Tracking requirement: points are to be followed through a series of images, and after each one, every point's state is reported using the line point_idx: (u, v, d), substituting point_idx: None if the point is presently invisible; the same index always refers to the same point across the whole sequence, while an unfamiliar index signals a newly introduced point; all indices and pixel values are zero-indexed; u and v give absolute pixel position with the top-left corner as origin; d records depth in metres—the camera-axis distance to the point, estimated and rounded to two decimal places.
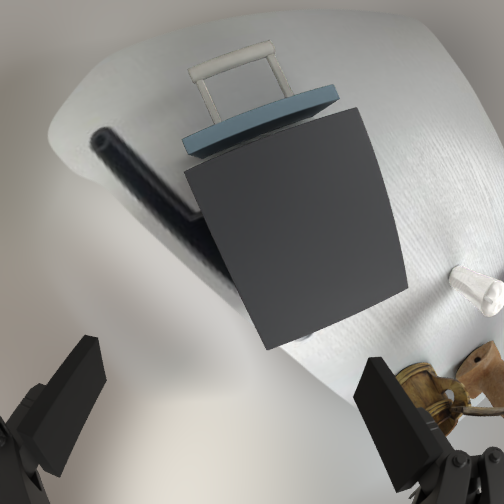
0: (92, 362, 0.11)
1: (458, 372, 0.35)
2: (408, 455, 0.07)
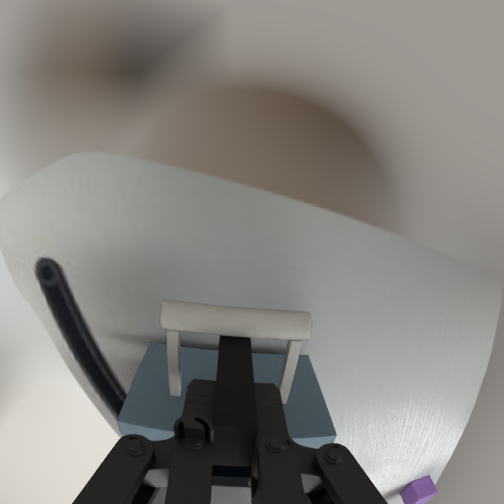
0: None
1: None
2: None
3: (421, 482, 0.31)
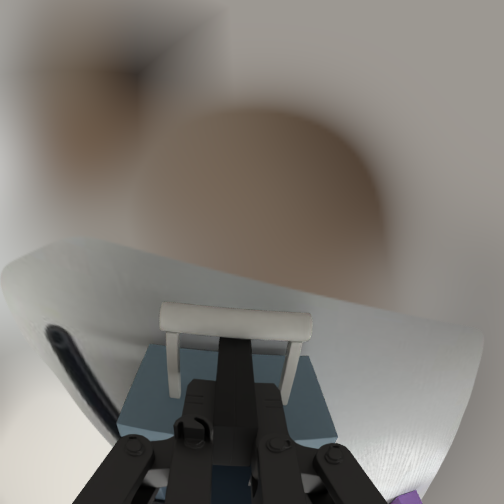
0: None
1: None
2: None
3: (407, 496, 0.32)
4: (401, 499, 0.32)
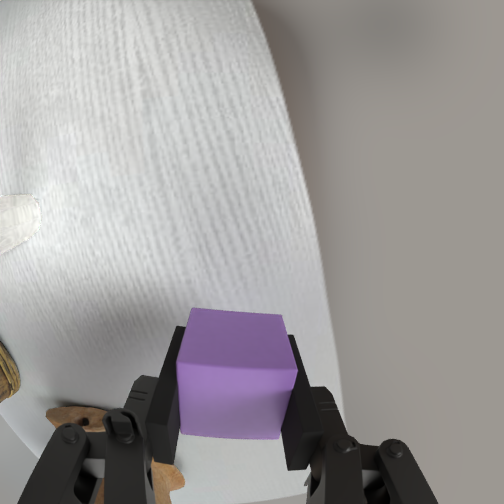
0: None
1: (51, 410, 0.19)
2: (293, 430, 0.09)
3: (233, 319, 0.13)
4: (198, 318, 0.13)
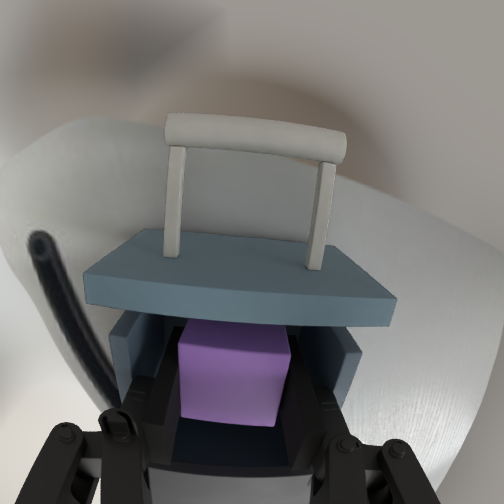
0: None
1: None
2: (296, 431, 0.09)
3: None
4: None
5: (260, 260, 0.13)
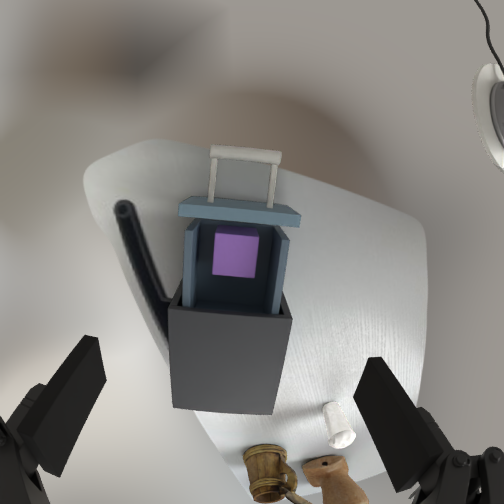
0: (92, 362, 0.11)
1: (305, 465, 0.48)
2: (408, 455, 0.07)
3: (235, 227, 0.33)
4: (221, 226, 0.32)
5: (247, 205, 0.30)
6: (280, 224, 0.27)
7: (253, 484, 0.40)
